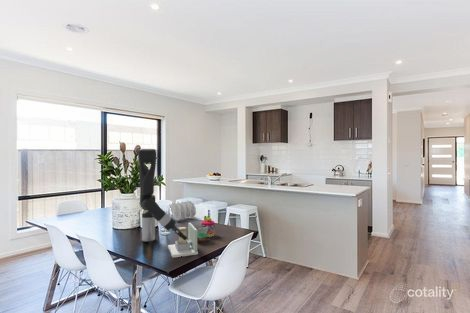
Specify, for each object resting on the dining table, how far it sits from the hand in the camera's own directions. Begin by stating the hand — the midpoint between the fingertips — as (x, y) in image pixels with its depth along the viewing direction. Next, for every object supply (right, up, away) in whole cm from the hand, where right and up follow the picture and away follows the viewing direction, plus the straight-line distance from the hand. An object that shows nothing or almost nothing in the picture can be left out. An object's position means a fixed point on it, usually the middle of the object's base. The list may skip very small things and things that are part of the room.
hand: (185, 237), depth 179 cm
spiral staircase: (-18, -8, +86) cm, 89 cm away
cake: (+12, -8, +33) cm, 36 cm away
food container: (+9, -8, +19) cm, 22 cm away
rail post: (-2, -5, -1) cm, 6 cm away
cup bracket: (-2, -8, -1) cm, 8 cm away
